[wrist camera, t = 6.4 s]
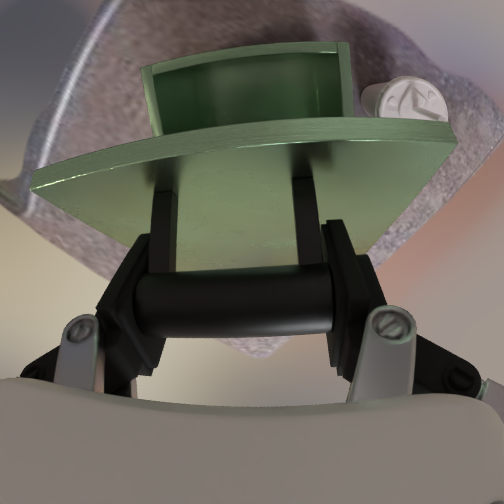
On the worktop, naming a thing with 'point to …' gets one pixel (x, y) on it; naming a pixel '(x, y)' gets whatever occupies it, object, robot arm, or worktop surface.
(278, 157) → the lid
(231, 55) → the caddy
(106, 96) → the worktop surface
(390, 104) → the smoothie
